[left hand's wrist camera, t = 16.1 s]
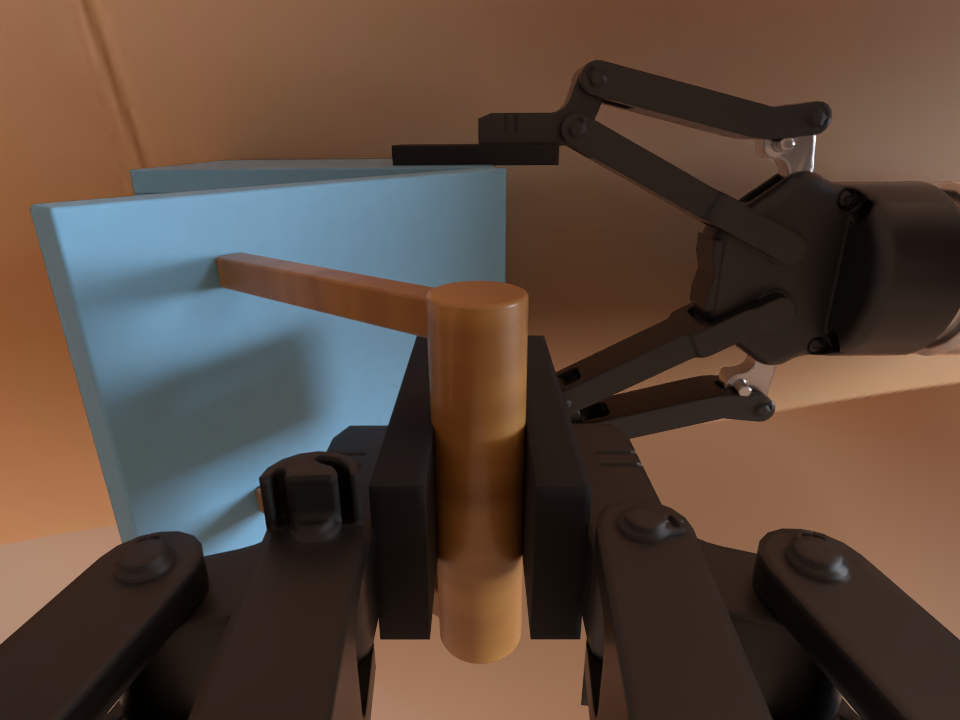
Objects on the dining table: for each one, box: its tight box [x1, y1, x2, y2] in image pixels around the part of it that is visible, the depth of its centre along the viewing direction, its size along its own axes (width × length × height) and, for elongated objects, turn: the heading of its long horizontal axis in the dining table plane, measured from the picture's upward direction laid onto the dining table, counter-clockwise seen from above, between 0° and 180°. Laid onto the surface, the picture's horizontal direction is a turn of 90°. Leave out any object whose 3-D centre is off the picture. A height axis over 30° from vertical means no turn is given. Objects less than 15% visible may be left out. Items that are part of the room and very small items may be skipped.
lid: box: [30, 167, 529, 664], centre depth 15 cm, size 14×9×9 cm
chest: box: [130, 159, 495, 196], centre depth 27 cm, size 14×9×9 cm
